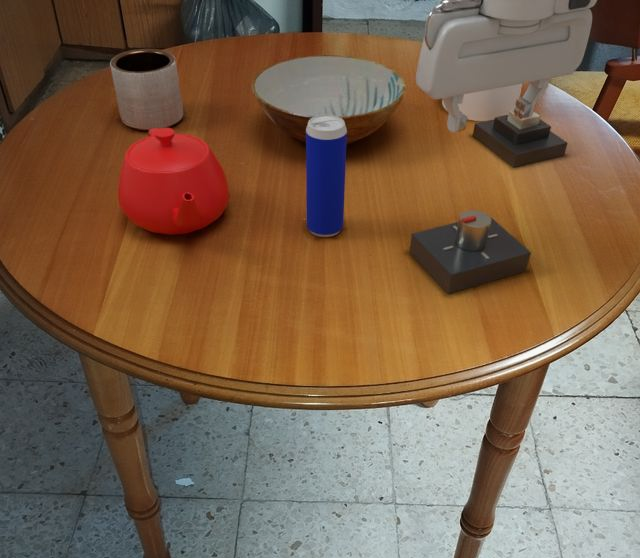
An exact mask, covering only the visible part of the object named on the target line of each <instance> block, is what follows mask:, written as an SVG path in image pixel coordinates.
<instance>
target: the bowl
mask: <svg viewBox="0 0 640 558" xmlns="http://www.w3.org/2000/svg"><path fill="white" fill-rule="evenodd" d="M250 85H251V87H250V88H251V91H252V95H254V97H255V99H256V101H257V103H258V105H259V106H260V108H261V109H262V111H263V113H264V114H265V115H266V117H267V118H268V119H269V120H270V121H271V122H272V123H273V125H275V126H276V127H277V128H278V129H280V130H281V131H282V132H284V133H285V134H286V135H289V136H291V137H292V138H294V139H297V140H298V141H300V142H302V143H304V144H306V128H307V125H308V122H309V120H310V119H311V118H313V117H315V116H318V115H334V116H337V117H340V118H341V119H343V120H344V122H345V125H346V129H347V141H346V146H348V145H351V144H353V143H356V142H357V141H359V140H361V139H364V138H367V137H368V136H370V135H371V134H373V133H374V132H376V131H377V130H378V129H379V128H380V127H382V126H383V125H384V124H385V123H386V122H387V121H388V120H389V118H390V117H391V116H392V115H394V113H395V111H396V110H397V108H398V107H399V105H400V104H401V102H402V100H403V98H404V96H405V94H406V91H407V84H406V81H405V80H404V78H403V77H402V75H400V73H398V72H397V71H396V70H394V69H392V68H391V67H389V66H387V65H384V64H382V63H380V62H377V61H373V60H371V59H370V60H369V59H366V58H362V57H361V58H360V57H356V56H350V55H348V56H347V55H338V54H337V55H336V54H317V55H305V56H298V57H294V58H289V59H284V60H282V61H278V62H275V63H273V64H270V65H269V66H266V67H264V68H263V69H261V70H260V71H259V72H257V73H256V75H255V76H254V77H253V79H252V80H251V84H250Z"/></svg>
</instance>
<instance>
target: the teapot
mask: <svg viewBox="0 0 640 558" xmlns="http://www.w3.org/2000/svg"><path fill="white" fill-rule="evenodd" d="M147 135H148V136H145V137H143V138H141V139H139V140H137V141H136V142H134V143H132V144H131V145H130V146H129V147H128V149H126V150H125V153H124V156H123V161H122V164H121V168H120V172H119V178H118V190H117V193H118V194H117V197H118V205H119V207H120V209H121V210H122V212H123V214H124V215H125V216H126V217H127V218H128V220H129V222H131V223H132V224H134V226H135V225H136V226H137V227H140V228H142V229H144V230H146V231H148V232H151V233H154V234H161V235H167V236H171V235H172V236H173V235H186V234H190V233H192V232H196V231H199V230H202V229H204V228H207V226H209V225H211V224H212V223H214V222H215V221H217V220H218V219H219V218H220V217H221V216H222V214H223V213H224V211H225V210H226V208H227V207H228V205H229V203H230V202H229V201H230V195H231V194H230V188H229V183H228V178H227V175H226V173H225V170H224V169H223V166H222V165H221V163H220V162H219V159H218V158H217V156H216V155H215V153H214V152H213V150H212V149H211V147H210V146H209V145H208V144H207V142H205V141H204V140H203V139H202V138H200V137H197V136H193V135H191V134H185V133H177V132H175V130H174V129H173V128H172V127H169V128H160V129H157V128H153V129H151V130H149V131H147Z"/></svg>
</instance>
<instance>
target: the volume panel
mask: <svg viewBox="0 0 640 558" xmlns="http://www.w3.org/2000/svg"><path fill="white" fill-rule="evenodd" d="M458 223H459V221H456V222H452V223H448V224H445V225H440V226H438V227H433V228H428V229H424V230H421V231H416V232H413V233H411V238H410V244H409V254H410V255H411V257H412V258H414V259H415V261H416V262H417V263H418V264H419V265H420V266H421V267H422V268H423V270H424V271H425V272H427V274H428V275H429V276H430V277H431V278H432V279H433V280H434V281H435V282H436V283H437V284H438V286H440V287H441V288H442V289H443V291H444V292H446V294H447V295H450V294H453V293H457V292H460V291H463V290H467V289H471V288H473V287H477V286H481V285H485V284H488V283H491V282H494V281H499V280H502V279H506V278H508V277H512V276H515V275H519V274H522V273H525V272H527V270H528V266H529V263H530V258H531V254H532V251H530V250H529V249H528V248H527V247H526V246H525V245H524V244H523V243H521V242H520V241H519V240H518V239H517V238H515V237H514V236H513V235H512V234H511V233H509V231H507V230H506V229H505V228H504V227H503V226H501V224H499V222H497V221H496V220H495V219H494V218H492V217H491V225H490V229H489V234H488V238H487V243H486V246H485V247H484V248H483V249H481V250H478V251H468V250H464V249H462V248H460V247H459V246H457V244H456V242H455V239H456V234H457V228H458Z"/></svg>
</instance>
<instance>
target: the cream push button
mask: <svg viewBox="0 0 640 558" xmlns="http://www.w3.org/2000/svg"><path fill="white" fill-rule="evenodd" d="M540 119H541V115H540V114H538V113H537V112H535V110H534V111H533V115H532V117H528V118H523V119H520V118H519V117H517V116H515V114H514V110H512V111H509V114H508V119H507V121H509V122H510V123H511V124H513V125H514V126H516V127H517V128H519V129H524V128H529V127H534V126H538V124H539V120H540Z"/></svg>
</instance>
